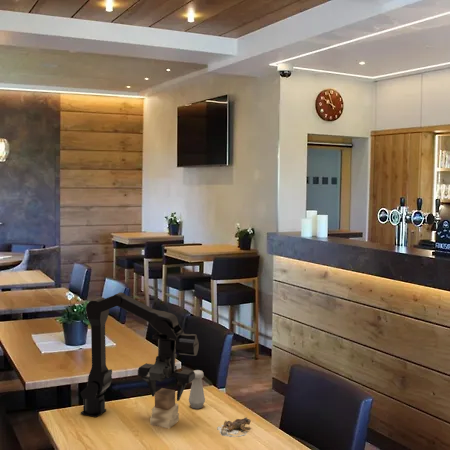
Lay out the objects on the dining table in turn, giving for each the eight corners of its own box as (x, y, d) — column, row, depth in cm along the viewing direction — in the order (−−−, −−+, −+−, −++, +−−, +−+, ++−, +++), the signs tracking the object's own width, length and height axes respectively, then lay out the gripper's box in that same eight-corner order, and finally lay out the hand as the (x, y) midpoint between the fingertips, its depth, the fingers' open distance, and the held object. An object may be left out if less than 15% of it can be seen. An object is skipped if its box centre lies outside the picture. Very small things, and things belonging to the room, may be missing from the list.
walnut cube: (154, 407, 202) (154, 392, 201) (161, 402, 206) (162, 388, 206) (168, 410, 200) (168, 395, 199) (175, 404, 204) (175, 390, 204)
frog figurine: (246, 422, 207) (247, 411, 207) (256, 436, 195) (256, 425, 195) (213, 424, 204) (213, 413, 204) (221, 439, 193) (221, 427, 192)
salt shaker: (202, 410, 215) (203, 374, 214) (186, 408, 216) (187, 372, 215) (206, 404, 220) (207, 369, 219) (191, 403, 221) (191, 367, 220)
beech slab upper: (151, 418, 200) (151, 409, 200) (158, 410, 207) (158, 401, 207) (172, 420, 199) (172, 411, 199) (178, 412, 206) (178, 403, 206)
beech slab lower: (150, 426, 201) (150, 417, 201) (160, 418, 208) (160, 409, 208) (169, 429, 199) (169, 420, 198) (178, 422, 205) (178, 413, 205)
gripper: (129, 355, 197) (128, 402, 199) (182, 363, 191) (180, 411, 192) (146, 346, 208) (145, 391, 209) (196, 353, 201) (195, 399, 203)
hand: (165, 398), depth 203 cm, fingers open, 9 cm apart
